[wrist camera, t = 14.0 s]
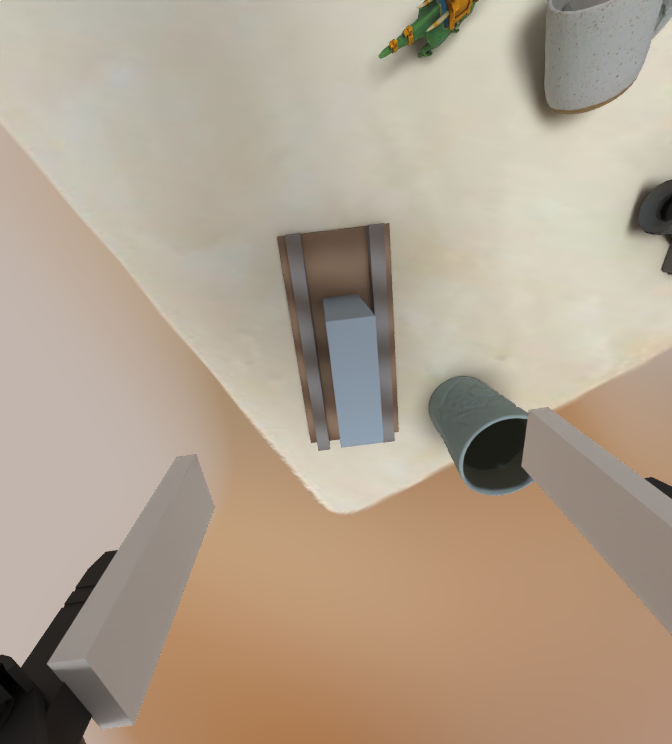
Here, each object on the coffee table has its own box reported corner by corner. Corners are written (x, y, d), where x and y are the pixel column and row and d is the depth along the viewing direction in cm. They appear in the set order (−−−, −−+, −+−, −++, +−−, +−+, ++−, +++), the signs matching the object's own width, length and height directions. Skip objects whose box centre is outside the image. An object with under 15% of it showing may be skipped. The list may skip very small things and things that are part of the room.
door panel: (322, 298, 37) (325, 321, 26) (357, 294, 37) (375, 315, 26) (334, 392, 42) (341, 447, 30) (365, 388, 42) (383, 442, 30)
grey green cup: (464, 356, 42) (517, 396, 31) (510, 401, 45) (573, 452, 34) (408, 409, 45) (439, 464, 34) (455, 448, 48) (498, 511, 37)
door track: (278, 237, 36) (274, 236, 33) (386, 224, 36) (393, 222, 33) (311, 436, 45) (310, 451, 42) (396, 426, 46) (402, 440, 42)
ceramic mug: (534, 97, 34) (558, 135, 30) (534, -9, 28) (564, 22, 24) (668, 30, 29) (715, 64, 26) (704, -114, 23) (774, -97, 19)
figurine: (489, 15, 30) (547, -62, 22) (378, 100, 32) (397, 55, 24) (475, -25, 29) (532, -120, 21) (361, 66, 31) (376, 8, 23)
